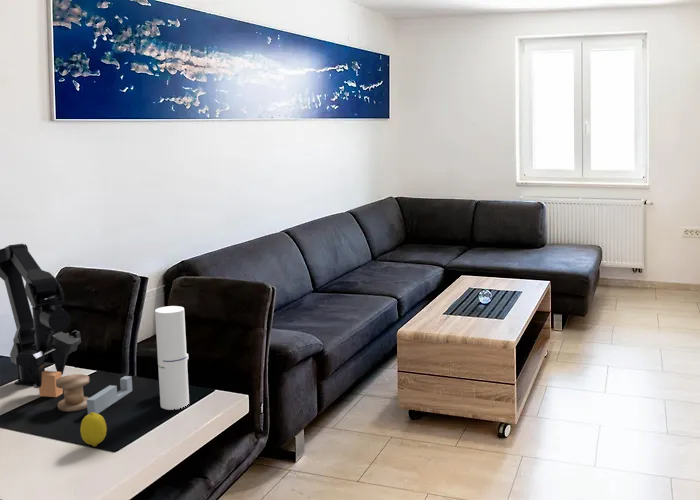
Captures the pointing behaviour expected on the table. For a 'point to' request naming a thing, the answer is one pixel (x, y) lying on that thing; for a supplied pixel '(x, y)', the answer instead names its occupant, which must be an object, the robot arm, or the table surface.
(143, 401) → the table surface
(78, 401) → the bobbin
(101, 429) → the lemon
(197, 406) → the table surface
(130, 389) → the notch board
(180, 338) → the cylindrical container
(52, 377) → the orange block
